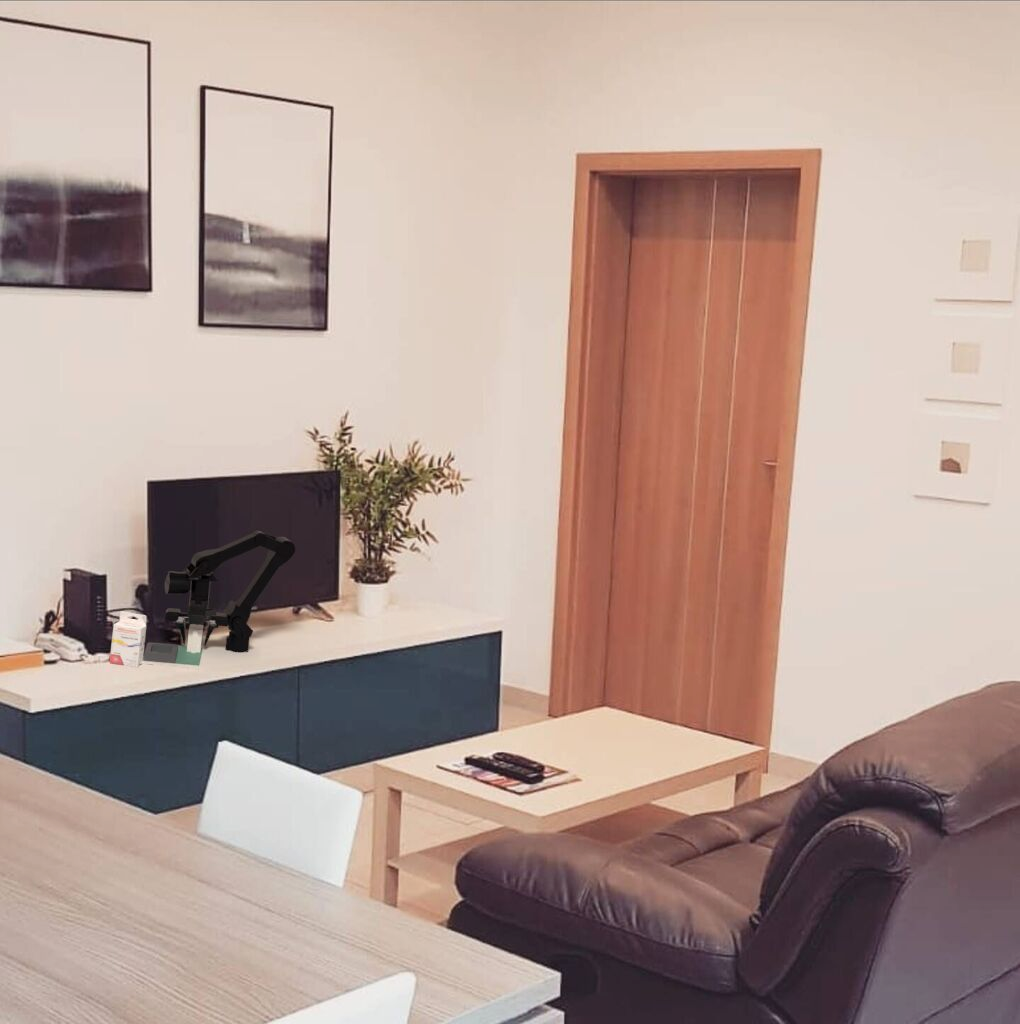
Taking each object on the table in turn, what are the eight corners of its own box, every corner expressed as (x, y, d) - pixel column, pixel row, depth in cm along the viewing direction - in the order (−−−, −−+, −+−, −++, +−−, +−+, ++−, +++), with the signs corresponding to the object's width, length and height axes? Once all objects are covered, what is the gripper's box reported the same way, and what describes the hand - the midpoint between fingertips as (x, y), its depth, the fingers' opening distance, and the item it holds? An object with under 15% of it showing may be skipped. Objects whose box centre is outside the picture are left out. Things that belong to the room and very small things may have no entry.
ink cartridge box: (108, 663, 442) (113, 614, 440) (114, 659, 447) (119, 610, 445) (137, 668, 441) (142, 618, 439) (143, 663, 446) (148, 614, 444)
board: (202, 650, 468) (203, 639, 467) (198, 668, 449) (200, 657, 448) (149, 646, 465) (150, 634, 465) (143, 664, 446) (144, 652, 445)
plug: (201, 647, 468) (203, 625, 467) (200, 653, 461) (202, 631, 460) (188, 646, 467) (190, 624, 466) (186, 652, 460) (188, 629, 459)
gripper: (166, 597, 452) (161, 648, 455) (229, 603, 455) (224, 654, 458) (168, 589, 463) (164, 639, 466) (231, 595, 466) (226, 644, 469)
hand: (194, 644), depth 464 cm, fingers open, 6 cm apart
